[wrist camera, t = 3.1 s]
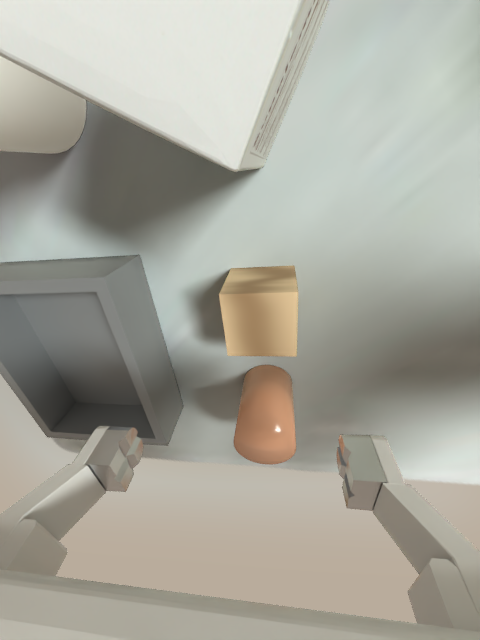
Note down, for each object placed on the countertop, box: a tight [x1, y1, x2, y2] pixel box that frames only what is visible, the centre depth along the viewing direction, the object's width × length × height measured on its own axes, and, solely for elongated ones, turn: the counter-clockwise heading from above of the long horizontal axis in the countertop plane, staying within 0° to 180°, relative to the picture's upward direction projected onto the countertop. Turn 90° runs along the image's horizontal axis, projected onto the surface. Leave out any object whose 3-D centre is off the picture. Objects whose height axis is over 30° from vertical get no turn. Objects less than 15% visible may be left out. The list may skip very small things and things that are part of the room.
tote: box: [0, 255, 183, 446], centre depth 25 cm, size 14×18×5 cm
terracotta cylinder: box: [234, 365, 296, 464], centre depth 24 cm, size 5×5×7 cm
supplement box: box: [0, 0, 330, 172], centre depth 9 cm, size 7×7×13 cm
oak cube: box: [219, 266, 298, 356], centre depth 20 cm, size 5×5×5 cm
